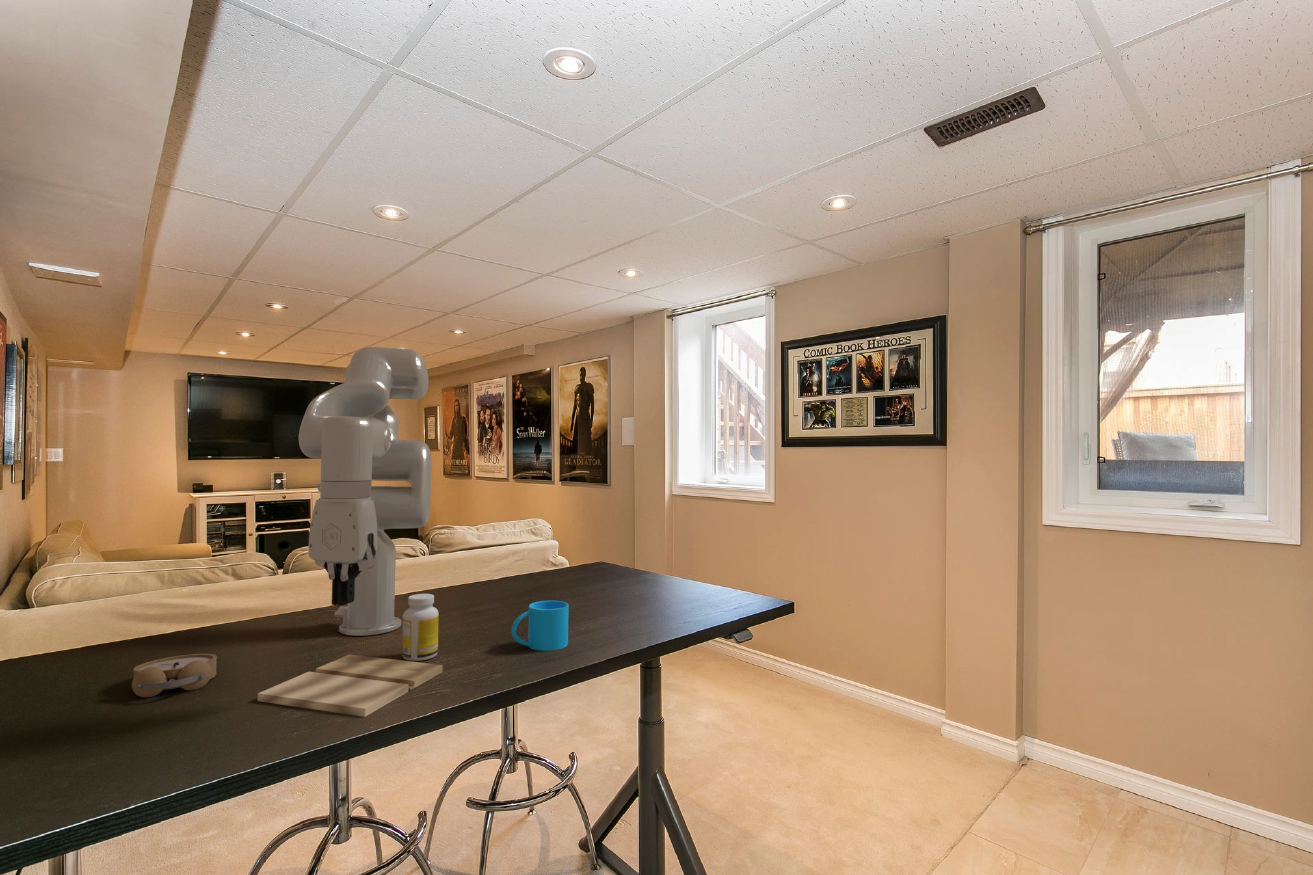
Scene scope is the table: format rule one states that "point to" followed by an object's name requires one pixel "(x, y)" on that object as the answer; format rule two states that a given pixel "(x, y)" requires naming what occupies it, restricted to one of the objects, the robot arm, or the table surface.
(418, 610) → the pill bottle
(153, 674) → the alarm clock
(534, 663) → the table surface
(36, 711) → the table surface
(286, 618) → the table surface
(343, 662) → the floor row
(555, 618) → the mug
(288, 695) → the plank
